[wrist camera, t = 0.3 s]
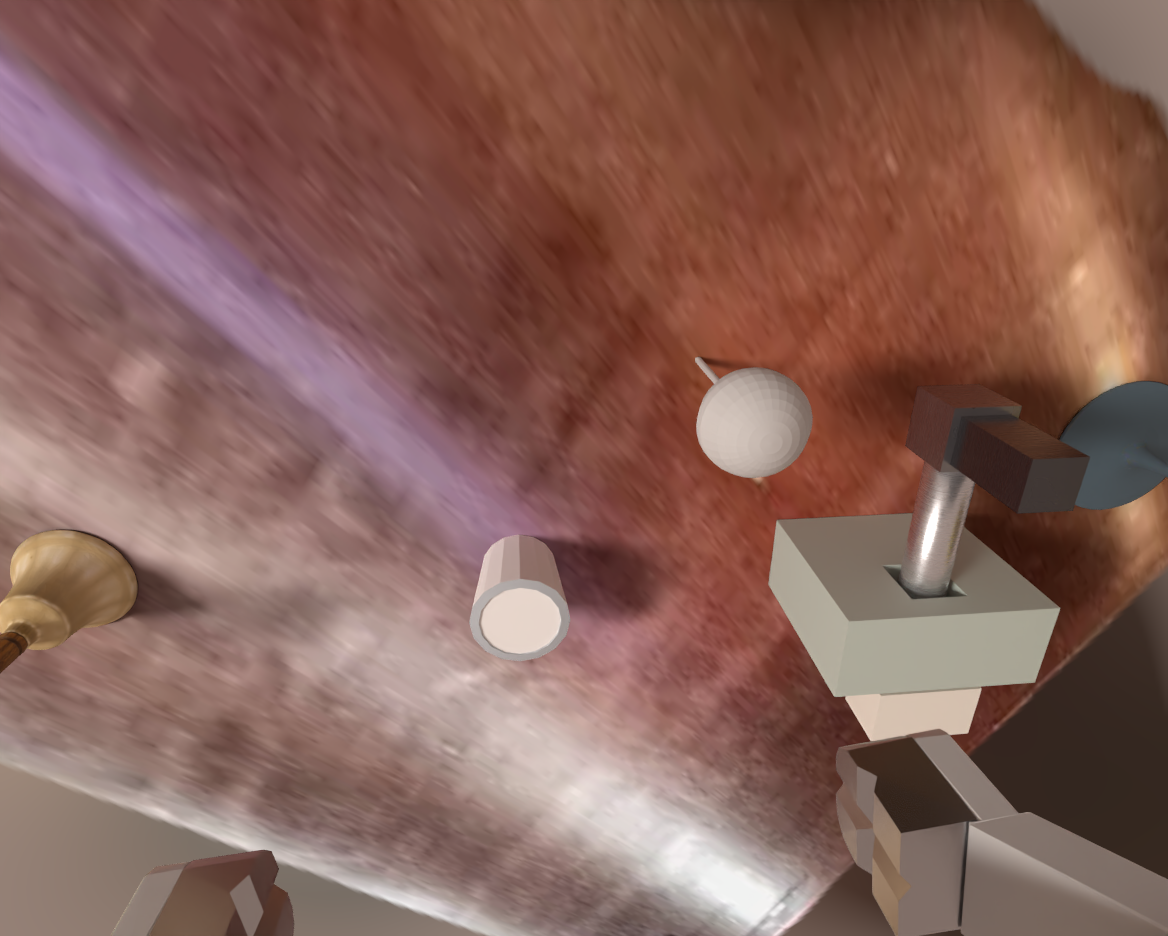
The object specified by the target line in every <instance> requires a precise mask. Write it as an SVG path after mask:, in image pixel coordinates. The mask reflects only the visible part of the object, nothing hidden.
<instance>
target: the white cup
mask: <svg viewBox="0 0 1168 936" xmlns="http://www.w3.org/2000/svg"><path fill="white" fill-rule="evenodd" d="M469 623H470V627H471V630H472V634H473V637H474V639H475V640H476V641H477V642H478V643H479V645H480V646H481V647H482V648H483V649H484V650H485V651H486V652H488V653H490V654H493V655H495V656H497V657H499V658H501V659H507V660H515V661H524V660H529V659H534V658H539V657H541V656H543V655H545V654H546V653H548V652H550V651H552V650H553V649H555V648H556V647H557V646H558V645H559V643H560V642H561V641H562V640H563V638H564V637H565V636H566V634H567V630H568V627H569V623H570V616H569V611H568V606H567V602H566V598H565V595H564V591H563V588H562V584H561V581H560V577H559V573H558V570H557V566H556V563H555V559H554V556H553V553H552V552H551V551H550V549H549V548H548V547H547V545H546V544H545V543H543V542H541V541H540V540H538V539H536V538H534V537H530V536H524V535H515V536H510V537H505V538H503V539H501V540H500V541H498V542H496V543H495V544H493V545H492V546H491V547H490V549H489V550H488V551H487V553H486V554H485V556H484V560H483V565H482V569H481V573H480V577H479V582H478V586H477V590H476V595H475V599H474V603H473V607H472V612H471V617H470V622H469Z"/></svg>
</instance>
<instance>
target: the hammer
mask: <svg viewBox="0 0 1168 936" xmlns="http://www.w3.org/2000/svg"><path fill="white" fill-rule="evenodd" d="M1021 408H1022V406H1021V405H1019V404H1017V403H1016V402H1014V401H1012V400H1010V399H1008V398H1006V397H1004V396H1002V395H1000V394H998V393H996V392H994V391H992V390H990V389H988V388H986V387H984V386H982V385H980V384H965V385H936V386H918V387H917V392H916V397H915V401H914V406H913V411H912V416H911V421H910V426H909V430H908V435H907V440H906V445H905V446H906V447H907V448H909V449H910V450H911V451H912V452H914V453H915V454H916V455H918V456H919V457H920V458H922V459H923V460H924V466H923V470H922V475H921V479H920V484H919V488H918V493H917V497H916V502H915V506H914V511H913V515H912V520H911V524H910V529H909V533H908V538H907V542H906V547H905V551H904V556H903V560H902V565H901V569H900V574H899V578H898V584H899V586H900V587H901V588H902V589H903V590H904V591H905V592H906V593H907V595H908V596H909V597H910V598H911V599H928V598H944V597H946V593H947V589H948V585H949V581H950V578H951V574H952V570H953V566H954V562H955V558H956V554H957V551H958V547H959V543H960V539H961V535H962V531H963V527H964V524H965V520H966V516H967V512H968V508H969V504H970V500H971V497H972V493H973V489H974V485H975V483H976V484H978V485H979V486H980V487H982V488H983V489H984V490H986V491H987V492H988V493H990V494H991V495H993V496H994V497H995V498H997V499H998V500H999V501H1001V502H1002V503H1004V504H1005V505H1006V506H1008V507H1009V508H1010V509H1012V510H1013V511H1015V512H1016V513H1036V512H1056V511H1073V508H1074V505H1075V502H1076V499H1077V496H1078V493H1079V490H1080V487H1081V484H1082V481H1083V478H1084V475H1085V472H1086V469H1087V466H1088V463H1089V460H1090V456H1088V455H1086V454H1084V453H1082V452H1080V451H1078V450H1077V449H1075V448H1073V447H1071V446H1069V445H1067V444H1065V443H1064V442H1062V441H1060V440H1058V439H1056V438H1054V437H1052V436H1051V435H1049V434H1047V433H1045V432H1043V431H1041V430H1039V429H1038V428H1036V427H1034V426H1032V425H1030V424H1028V423H1026V422H1025V421H1023V420H1021V419H1019V415H1020V411H1021Z"/></svg>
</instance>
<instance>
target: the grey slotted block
mask: <svg viewBox="0 0 1168 936" xmlns="http://www.w3.org/2000/svg"><path fill="white" fill-rule="evenodd" d="M912 515H913V513H906V514H886V515H866V516H846V517H826V518H806V519H786V520H777V523H776V531H775V539H774V546H773V554H772V562H771V569H770V577H769V586H770V588H771V590H772V591H773V593H774V595H775V596H776V598H777V600H778V602H779V603H780V605H781V607H782V608H783V610H784V612H785V613H786V615H787V617H788V619H789V620H790V622H791V624H792V625H793V627H794V629H795V631H796V632H797V634H798V636H799V637H800V639H801V641H802V642H803V644H804V646H805V648H806V649H807V651H808V653H809V654H810V656H811V658H812V660H813V661H814V663H815V665H816V666H817V668H818V670H819V671H820V673H821V675H822V677H823V678H824V680H825V682H826V683H827V685H828V687H829V689H830V690H831V692H832V694H833V695H834V697H841V696H855V695H869V694H883V693H896V692H910V691H924V690H938V689H951V688H965V687H979V686H993V685H1006V684H1020V683H1034V682H1035V680H1036V677H1037V674H1038V672H1039V669H1040V666H1041V663H1042V660H1043V657H1044V654H1045V651H1046V648H1047V646H1048V643H1049V640H1050V637H1051V634H1052V631H1053V628H1054V625H1055V622H1056V619H1057V617H1058V614H1059V611H1060V607H1058V606H1057V605H1056V604H1055V603H1054V602H1053V601H1051V600H1050V599H1049V598H1048V597H1047V596H1045V595H1044V594H1043V593H1042V592H1041V591H1039V590H1038V589H1037V588H1036V587H1035V586H1034V585H1032V584H1031V583H1030V582H1029V581H1028V580H1026V579H1025V578H1024V577H1023V576H1022V575H1020V574H1019V573H1018V572H1017V571H1016V570H1015V569H1013V568H1012V567H1011V566H1010V565H1009V564H1007V563H1006V562H1005V561H1004V560H1003V559H1002V558H1000V557H999V556H998V555H997V554H996V553H994V552H993V551H992V550H991V549H990V548H988V547H987V546H986V545H985V544H984V543H983V542H981V541H980V540H979V539H978V538H977V537H975V536H974V535H973V534H972V533H971V532H969V531H968V530H967V529H966V528H965V527H963V531H962V535H961V539H960V543H959V547H958V551H957V554H956V558H955V562H954V566H953V570H952V574H951V578H950V581H949V585H948V589H947V593H946V597H944V598H928V599H911V598H910V597H909V596H908V595H907V593H906V592H905V591H904V590H903V589H902V588H901V587H900V586H899V584H898V578H899V574H900V569H901V565H902V560H903V556H904V551H905V547H906V542H907V538H908V533H909V529H910V524H911V520H912Z"/></svg>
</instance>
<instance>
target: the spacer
mask: <svg viewBox="0 0 1168 936" xmlns="http://www.w3.org/2000/svg"><path fill="white" fill-rule="evenodd" d="M981 689H982V688H981V687H980V686H979V687H965V688H951V689H938V690H924V691H910V692H896V693H883V694H869V695H855V696H846V701H847V702H848V704H849V706H850V707H851V709H852V711H853V712H854V714H855V716H856V717H857V719H858V721H859V722H860V724H861V726H862V727H863V729H864V731H865V732H866V734H867V735H868V737H869V739H870V740H871V741H876V740H882V739H887V738H893V737H898V736H905V735H908V734H913V733H918V732H923V731H929V730H934V729H941V730H943V731H945V732H947V733H948V734H949V735H953V734H965V733H968V732H969V728H970V725H971V722H972V719H973V715H974V712H975V709H976V705H977V702H978V699H979V696H980V692H981Z"/></svg>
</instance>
